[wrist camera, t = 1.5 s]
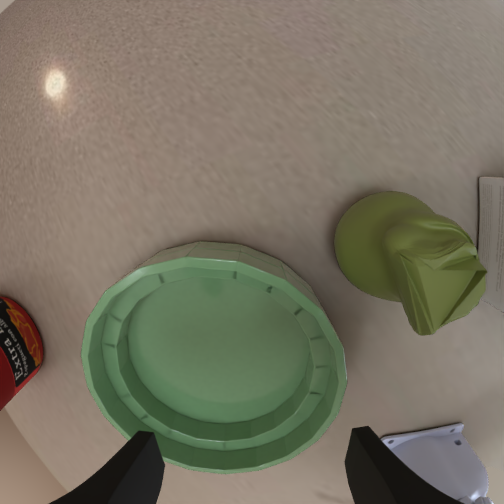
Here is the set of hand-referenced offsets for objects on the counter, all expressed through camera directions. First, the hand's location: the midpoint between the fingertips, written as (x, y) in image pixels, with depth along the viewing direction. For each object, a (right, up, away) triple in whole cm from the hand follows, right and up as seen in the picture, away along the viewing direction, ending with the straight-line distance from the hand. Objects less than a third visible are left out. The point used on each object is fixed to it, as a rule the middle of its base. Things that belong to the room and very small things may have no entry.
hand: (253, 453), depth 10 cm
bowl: (-2, +1, +10) cm, 11 cm away
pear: (+7, +8, +9) cm, 14 cm away
